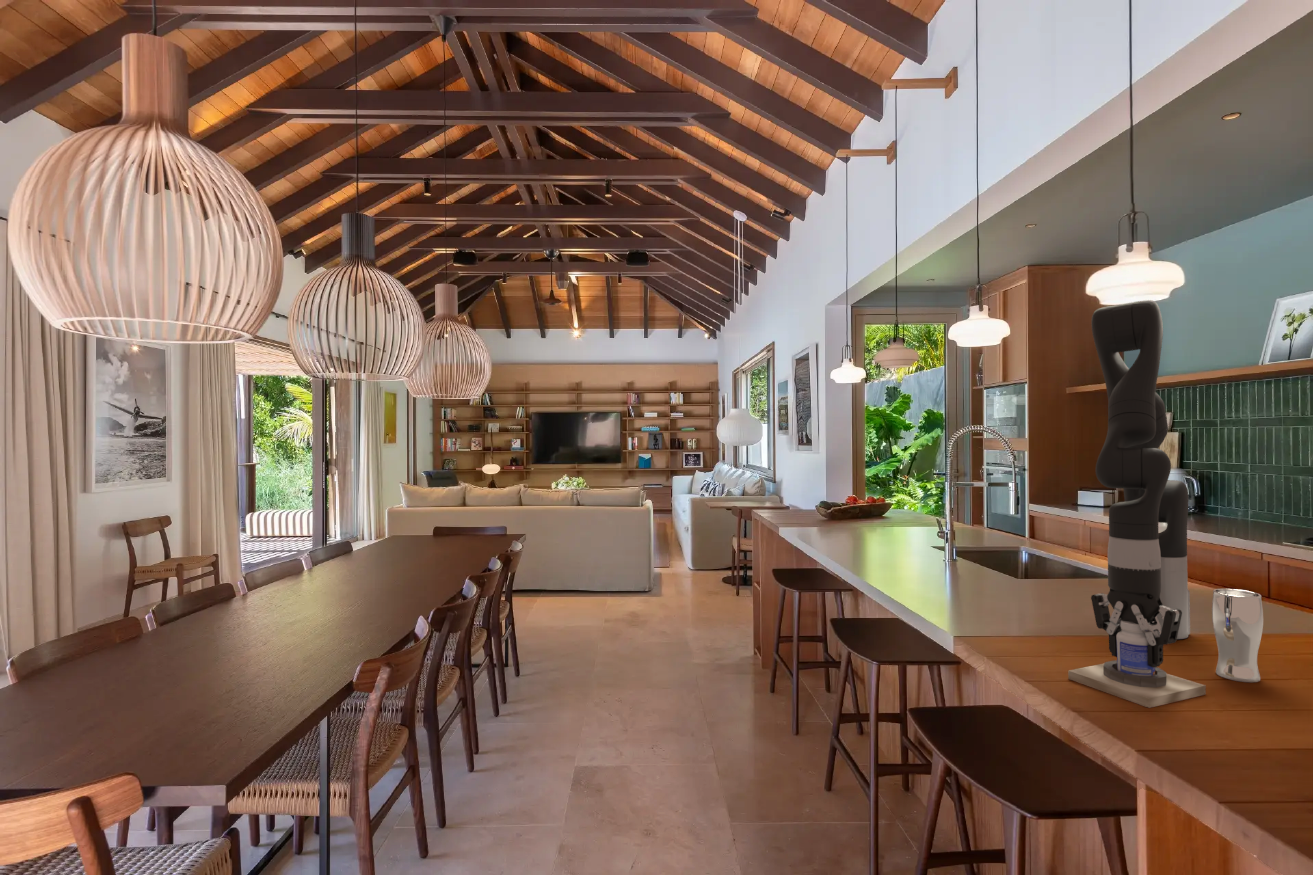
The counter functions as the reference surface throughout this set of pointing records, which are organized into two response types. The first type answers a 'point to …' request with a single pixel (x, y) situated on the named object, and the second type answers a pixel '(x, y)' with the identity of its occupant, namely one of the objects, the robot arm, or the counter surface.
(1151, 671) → the pill bottle
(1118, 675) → the collar base
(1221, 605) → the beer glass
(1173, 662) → the counter surface
